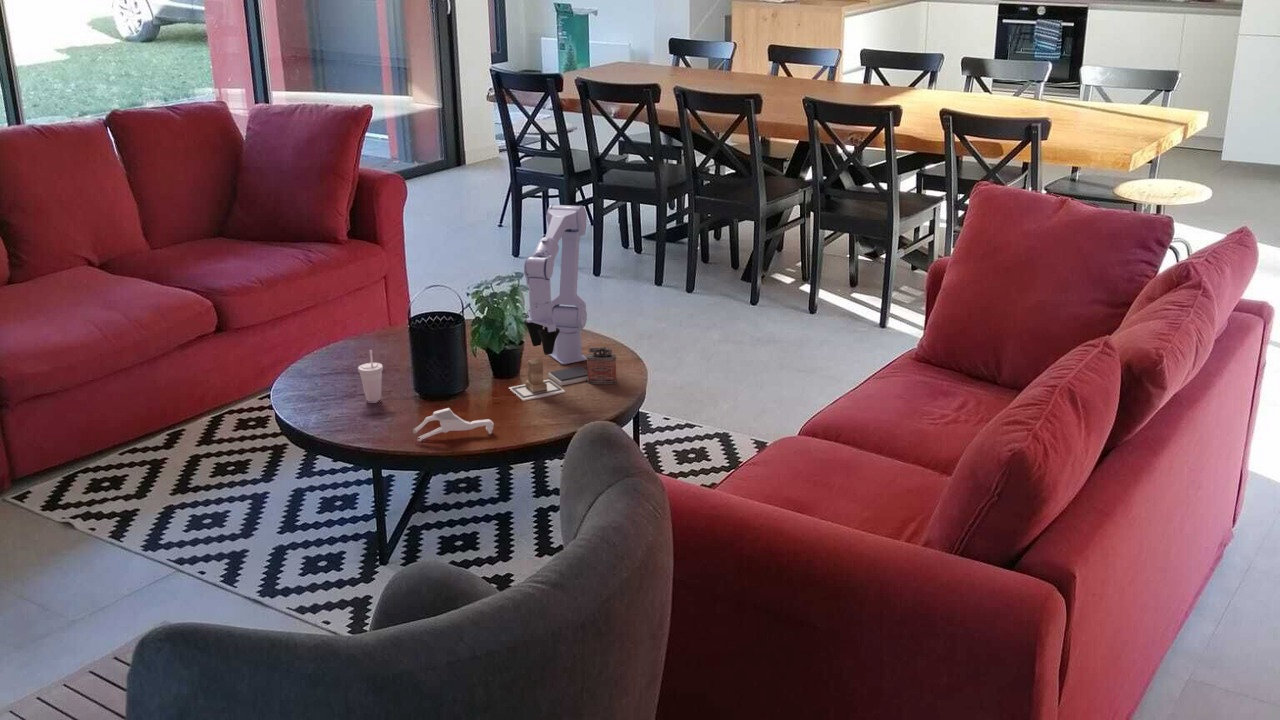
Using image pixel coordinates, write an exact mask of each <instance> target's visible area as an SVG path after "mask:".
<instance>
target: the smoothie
mask: <svg viewBox="0 0 1280 720" xmlns="http://www.w3.org/2000/svg"><path fill="white" fill-rule="evenodd" d="M369 357H370V362H367V363H366V362H365V363H362V364H361V365H359V366H358V367H357V372H358V373H359V376H360V379H361V383H362V384H361V385H362V388H363V392H364V396H365V401H366V400H368V401H378V400H380V399H381V400H382V386H383V385H382V382H383V381H382V380H383V370H384V366H383V364H382V363H381V362H374V359H373V349H369Z"/></svg>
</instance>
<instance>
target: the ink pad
mask: <svg viewBox="0 0 1280 720" xmlns="http://www.w3.org/2000/svg"><path fill="white" fill-rule="evenodd" d="M547 374H548V376H547V377H548V378H549V379H550V380H551V381H553V382H554V383H555V384H557V385H558V386H559V387H562V386H566V385H572V384H576V383H581V382H585V381H586V382H587V378H588V369H585V368H584V367H583V366H581V365H578V366H572V367H569V368H564V369H562V368H561V369H558V370H553V371H550V372H548V373H547Z"/></svg>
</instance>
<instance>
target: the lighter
mask: <svg viewBox="0 0 1280 720" xmlns="http://www.w3.org/2000/svg"><path fill="white" fill-rule="evenodd" d="M612 349H613V348H612V347H605V345H602V346H600V347H597V346H590V347H589V348H588V353H589V354H587V355H586V358H587V360H586V361H587V362H586V363H587V371H588V378H587V381H586V382H587V383H588V384H592V385H593V384H595V385H614V384H617V381H618V378H617V355H616V354H612V353H613V352H612Z"/></svg>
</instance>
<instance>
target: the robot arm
mask: <svg viewBox="0 0 1280 720" xmlns="http://www.w3.org/2000/svg"><path fill="white" fill-rule="evenodd" d="M587 218H588V217H587V211H586V209H585V206H584V205H565V204H554V203H552V204H550V205H549V206H548V208H547V211H546V221H547V225H548V227H547V230H546V234H545V236H544V237H542V238H540V239H539V240H538V242H537V245H536V247H535V249H534V251H533V253H532V255H531V256H529V257H527V258H526V259H525V261H524V265H523V267H524V268H523V274H524V277H525V279H526V280H525V282H526V285H527V286H528V300H529V301H528V303H529V309H527V310H526V316H527V315H528V316H529V317H528V316H527V317H526V319H525V320H524V321H523V323H524V325H525V327H526V330H527V332H528V333H529V336H530V341H531V344H532V347H537V346H542V350H543V351H542V352H543V353H544V356H547V355H548V356H550V357H551V358H552V359H554V360H555V361H556V362H557V363H560V364H561V365H568V364H574V363H578V362H582V361H583V362H585V361H587V356H585V355H584V354H582V353H583V351H582V330H584V328H585V327H586V324H587V320H588V319H587V317H588V313H587V305H586V304H587V303H586V301H584V300H583V299H582V298H581V297H580V296H579V295H578V294H577V293H578V275H579V273H578V272H579V255H580V253H579V252H580V241H581V237H583V236H584V235H586V231H587ZM560 240H561V254H560V255H561V256H560V257H561V259H560V280H559V281H560V282H559V295H557V296H556V297H554V298H553V299H552V294H551V293H552V291H551V278H552V277H553V272H554V267H555V262H554V261H555V259H556V257H557V256H558V255H557V254H558V252H559V250H560V246H559V241H560ZM531 289H532V290H531Z"/></svg>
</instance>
